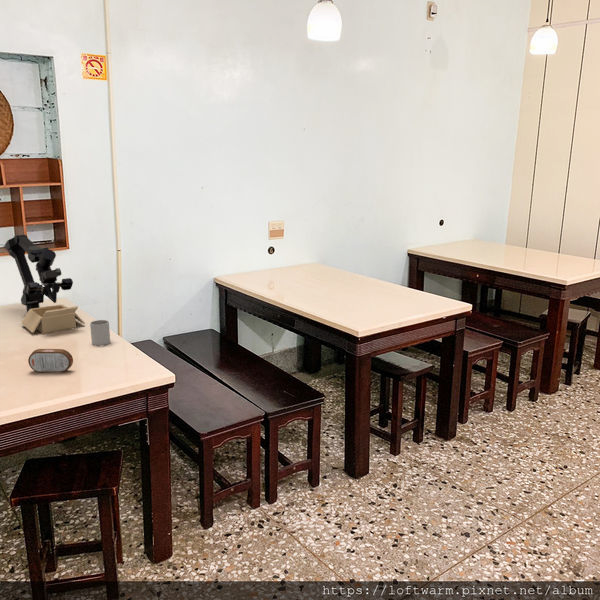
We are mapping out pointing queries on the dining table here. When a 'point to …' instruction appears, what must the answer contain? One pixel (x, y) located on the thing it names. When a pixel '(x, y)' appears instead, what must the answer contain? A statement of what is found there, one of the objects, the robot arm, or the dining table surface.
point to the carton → (49, 320)
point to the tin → (50, 360)
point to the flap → (60, 311)
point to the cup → (100, 332)
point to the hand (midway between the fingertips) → (55, 302)
